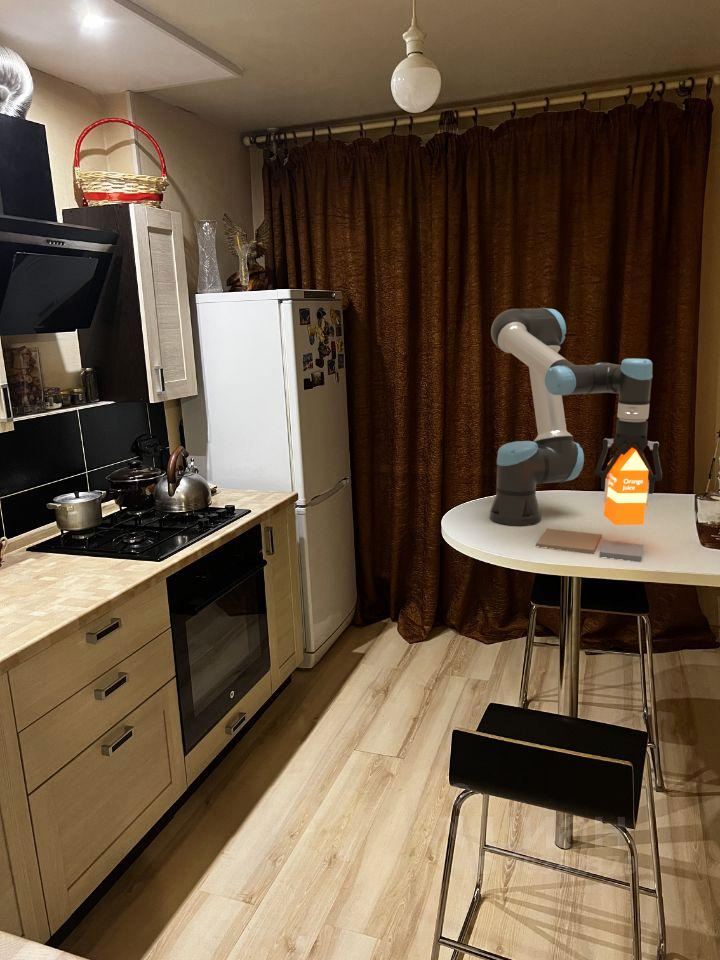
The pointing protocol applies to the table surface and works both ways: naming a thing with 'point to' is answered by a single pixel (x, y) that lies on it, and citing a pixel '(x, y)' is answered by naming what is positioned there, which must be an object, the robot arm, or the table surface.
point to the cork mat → (569, 540)
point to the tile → (622, 551)
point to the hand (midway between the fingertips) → (625, 503)
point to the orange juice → (627, 490)
